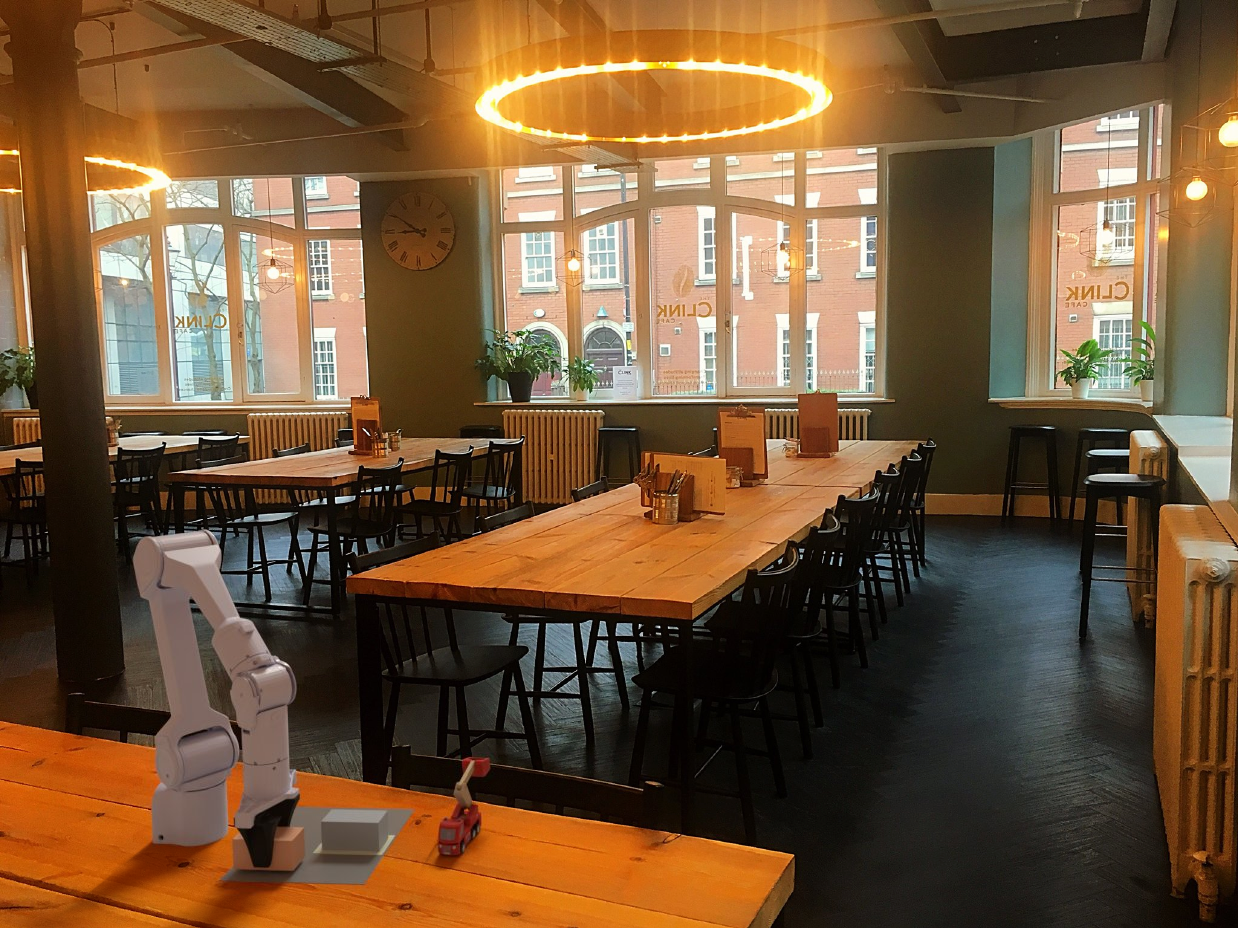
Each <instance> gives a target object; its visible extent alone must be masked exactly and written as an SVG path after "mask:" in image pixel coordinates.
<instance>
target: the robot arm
mask: <svg viewBox="0 0 1238 928" xmlns="http://www.w3.org/2000/svg"><path fill="white" fill-rule="evenodd" d="M132 563H133V568H134V573H135V578H136V579H135V580H136V584H137V588H138V592H139V595H140V598H142V599H145V600H147V601H148V602H149V608H150V609H149V610H150V613H151V614H150V615H151V618H152V623H153V629H154V634H155V638H156V643H157V648H158V654H159V658H160V664H161V669H162V673H163V680H164V685H165V690H166V694H167V695H166V696H167V700H168V705H169V706H168V707H169V711H170V715H171V716H170V718H169V719H168V721H167V722H166V723H165V724H164V725H163V726H162V727H161V728H160V730H159V731H158V732H157V734H156V735H155V736H154V745H155V757H154V758H155V759H154V766H155V770H156V771H155V772H156V774H157V777H158V779H159V781H161V782H160V783H159V784H158V785H157V786H156V788H155V789H154V792H153V796H152V800H151V807H150V808H151V810H150V812H151V813H150V814H151V827H152V828H151V831H152V832H151V833H152V835H151V836H152V844H159V845H160V844H161V845H162V844H164V845H169V844H170V845H178V846H181V847H182V846H183V847H195V846H203V845H204V846H205V845H208V844H211V843H215V842H217V841H219V840H221V839H223V838H224V837H225V836H226V835H227V834H228V833H229V816H228V815H229V814H228V812H229V811H228V794H227V793H228V792H227V791H228V790H227V778H230V777H232V773H231V772H232V771H231V770H233V769H234V768H235V767H236V765H237V763H238V761H239V756H240V747H239V742H238V739H237V736H236V735H235V734H234V732H233V729H232V727H231V723H230V719H229V717H228V716H227V715H225V714H223V713H221V712H219V711H216V710H215V709H214V708H212V707H210V706H211V705H210V700H209V696H208V695H209V694H208V690H207V686H206V681H205V675H204V669H203V666H202V665H203V664H202V660H201V655H200V651H199V650H200V649H199V647H198V641H197V635H196V631H195V625H194V622H193V621H194V620H193V615H192V610H191V606H190V605H191V604H190V599H191V598H192V599H193V601H194V602H195V604H196V605H197V607H198V608H199V610H200V611H201V613H202V614H203V616H204V617H205V618H206V620H207V621H208V622H209V624H210V626H211V627H212V628H213V630H214V634H213V635H212V637H211V645H212V648H214V651H215V652H216V655H217V656H218V658H219V661H220V662H221V664H222V666H223V667H224V669H225V671H226V673H227V675H228V676H229V679H230V680H231V683H232V685H231V689H230V690H229V694H230V701H231V703H232V706H233V708H234V710H235V715H236V716H235V717H236V722H237V725H238V727H239V728H241V747H242V748H241V749H242V750H241V752H242V772H243V773H242V777H243V781H242V782H243V791H242V794H241V798H240V802H239V806H238V809H237V811H235V812H234V817H233V826H234V828H235V829H236V830H237V831H238V833H239V832H240V834H241V835H242V837H243V839H244V841H245V843H246V846H247V848H248V851H249V854H250V858H251V861H252V864H253V866H254V867H256V868H269V867H270V865H271V862H272V857H273V845H274V837H275V832H276V829H277V827H290V823H291V819H292V816H293V813H294V810H295V808H296V807H297V805H298V803H299V801H300V799H301V794H300V791H299V790H300V788H299V787H293V786H295V785H296V784H297V782H298V781H297V769H290V750H289V749H290V748H289V747H290V745H289V744H290V743H289V742H290V741H289V720H288V718H289V717H288V705H290V704H292V702H293V701H294V700H295V699H296V695H297V681H296V677H295V675H294V672H293V670H292V668H291V666H290V665H289V664H288V663H287V662H285V661H283V660H280V659H279V657H278V656H276V655H272V654H271V652H270V650H269V649H268V647H267V645H266V643H265V641H264V640H263V638H262V636H261V634H260V632H259V631H258V629H257V628H256V626H255V624H254V622H253V621H252V620H250V619H247V618H243V617H240V614H239V613H238V610H237V608H236V606H235V603H234V602H233V598H232V597H231V595H230V592H229V590H228V588H227V585H226V583H225V581H224V578H223V577H222V574H221V572H220V569H221V563H222V550H221V548H220V545H219V542H218V539H217V538H216V536H215V535H214V534H213V533H212V532H211V531H210V530H208V529H201V530H200V529H199V530H197V531H192V532H185V533H182V532H181V533H174V534H165V535H159V536H144V537H142V538H141V539H140V540H139V541H138V544H137V545H136V547H135V552H134V554H133V557H132ZM203 730H207V731H204V732H201V733H197V734H193V735H190V736H187V737H184V736H186V735H189V734H192V733H196V732H199V731H203ZM183 737H184V738H183ZM162 837H163V838H162Z"/></svg>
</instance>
